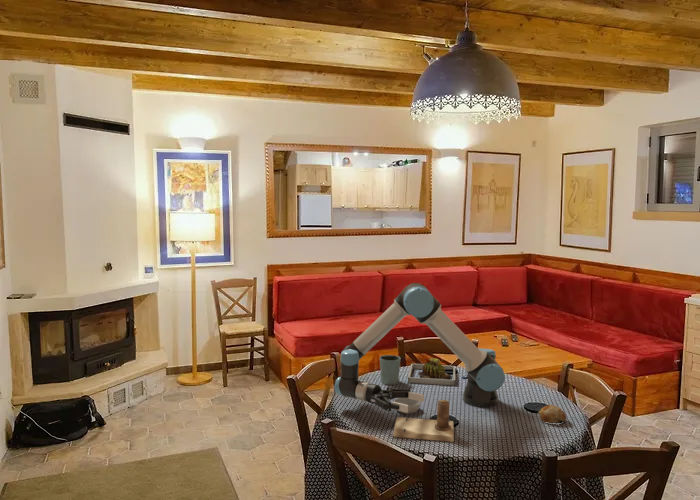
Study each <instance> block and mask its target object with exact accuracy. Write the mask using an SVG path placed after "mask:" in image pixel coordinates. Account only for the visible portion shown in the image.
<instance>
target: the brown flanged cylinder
mask: <svg viewBox="0 0 700 500" xmlns="http://www.w3.org/2000/svg"><path fill="white" fill-rule="evenodd" d="M436 405H437V407H436V409H437V410H436V411H437V412H436V414H437V415H436V420H437V424H435V429H437V430H440V431H449V430H450V429H451V426H450V425H449V421H450V401H448V400H446V399H439V400H437V404H436Z"/></svg>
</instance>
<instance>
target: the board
mask: <svg viewBox="0 0 700 500" xmlns="http://www.w3.org/2000/svg"><path fill="white" fill-rule="evenodd" d="M435 424H437V419H429V418H427V419H425V418H415V417H414V418H413V417H401V416H400V417H399V416H398V417H396V420H395V424H394V429H393V438H404V439H416V440H417V439H418V440H428V441H429V440H430V441H440V442H442V441H443V442H450V443H451V442H454V437H455V432H454V430H455V429H454V421H453V420H449V425H450V426H451V429H450V430H449V431H440V430H437V429H435Z"/></svg>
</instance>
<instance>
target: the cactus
mask: <svg viewBox="0 0 700 500" xmlns="http://www.w3.org/2000/svg"><path fill="white" fill-rule="evenodd" d="M429 360H430V361H428V362H425V363H424V364H425V365H424V366H423V369H422V371H419V372H418V375H419V376H420V377H421V378H431V379H447V380H452V375H451V374H450V373H449V372H446V371H445V369H444V367H443V366H442V365H443V364H441V363H440V362H441V360H440V359H438V358H436V357H434V358H433V357H431V358H429Z"/></svg>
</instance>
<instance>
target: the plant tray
mask: <svg viewBox="0 0 700 500" xmlns="http://www.w3.org/2000/svg"><path fill="white" fill-rule="evenodd" d="M424 365H425V363H410V367H409V370H408V375H407V383H409V384H423V385H425V384H426V385H439V386H441V385H442V386H456V366H455V365H443V364H441V365H442V366H443V367H444V369H453V371H452V374H453V379H450V380H448V379H431V378H423V377H415V376H414V377H413V376H412V372H413V370H423V366H424Z"/></svg>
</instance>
